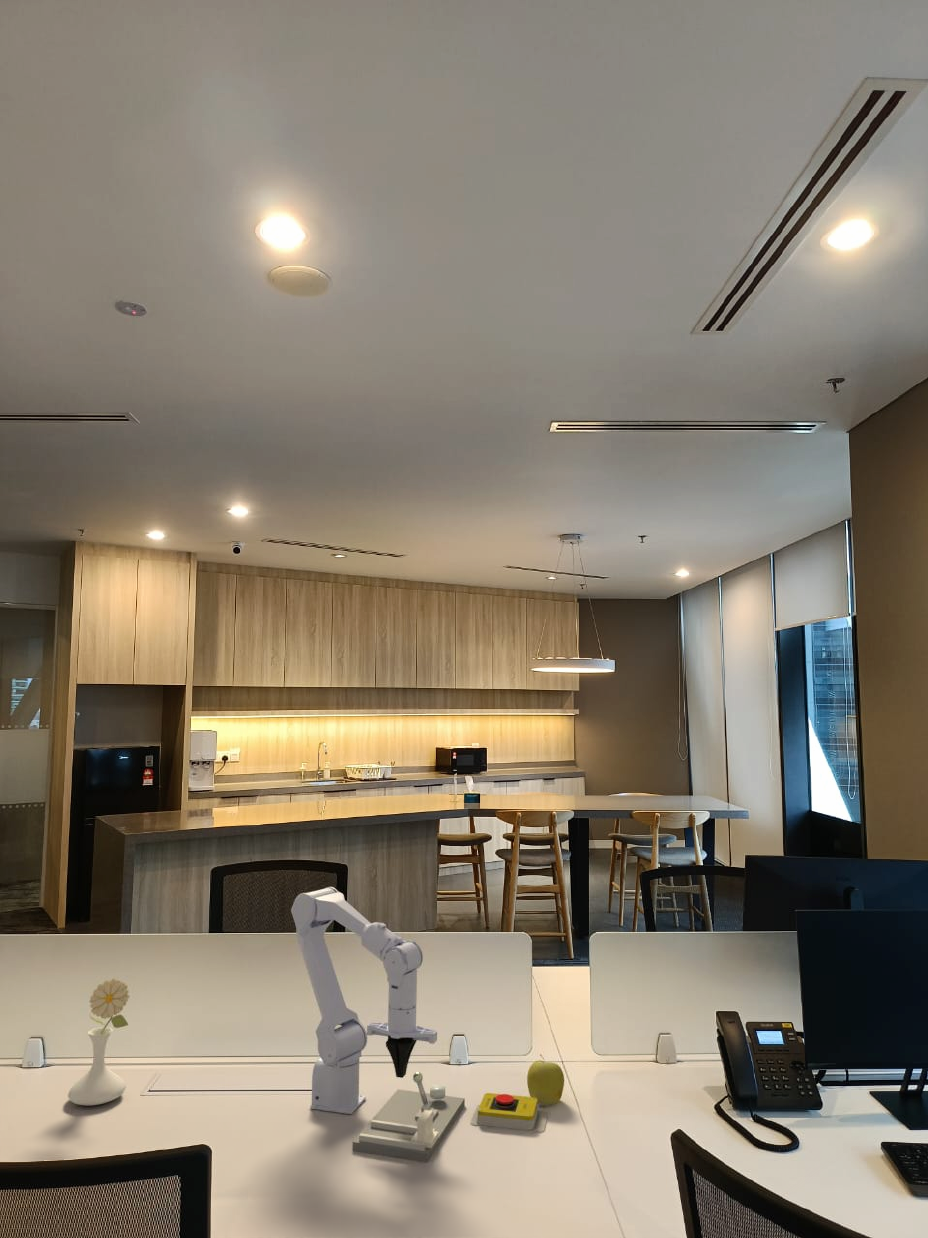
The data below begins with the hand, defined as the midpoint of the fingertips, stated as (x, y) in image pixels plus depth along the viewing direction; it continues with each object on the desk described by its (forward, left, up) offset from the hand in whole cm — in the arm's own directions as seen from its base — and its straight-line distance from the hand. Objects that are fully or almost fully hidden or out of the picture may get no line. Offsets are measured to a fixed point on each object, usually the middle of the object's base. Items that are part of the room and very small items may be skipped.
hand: (401, 1075), depth 173 cm
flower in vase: (-65, -8, -10) cm, 66 cm away
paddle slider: (+8, -8, -8) cm, 14 cm away
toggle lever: (+5, +2, -6) cm, 8 cm away
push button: (+5, +9, -7) cm, 12 cm away
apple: (+26, +19, -10) cm, 33 cm away
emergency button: (+20, +9, -10) cm, 24 cm away
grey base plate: (+3, 0, -9) cm, 10 cm away
